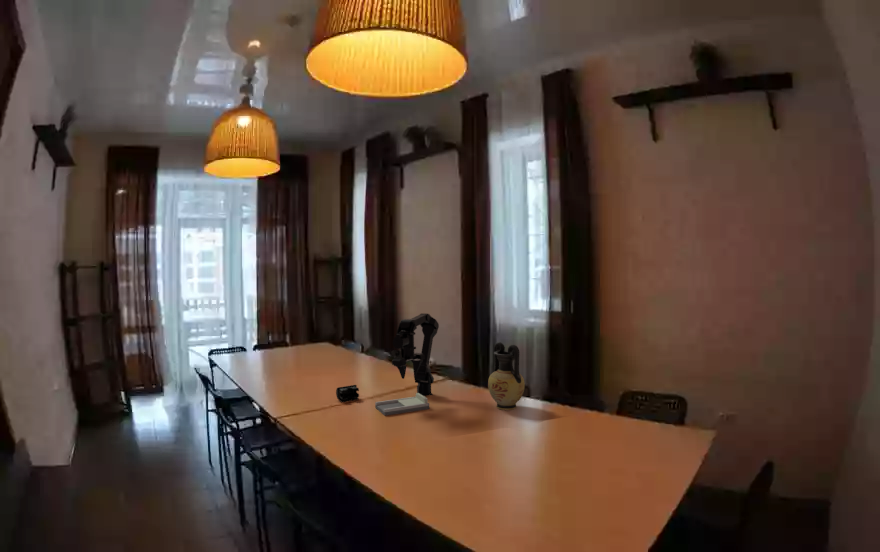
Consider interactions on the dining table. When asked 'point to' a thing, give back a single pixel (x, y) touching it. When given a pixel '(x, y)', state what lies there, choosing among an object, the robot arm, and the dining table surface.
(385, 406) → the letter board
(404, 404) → the sage shutter
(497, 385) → the amphora
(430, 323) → the robot arm
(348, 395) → the end cap
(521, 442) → the dining table surface
